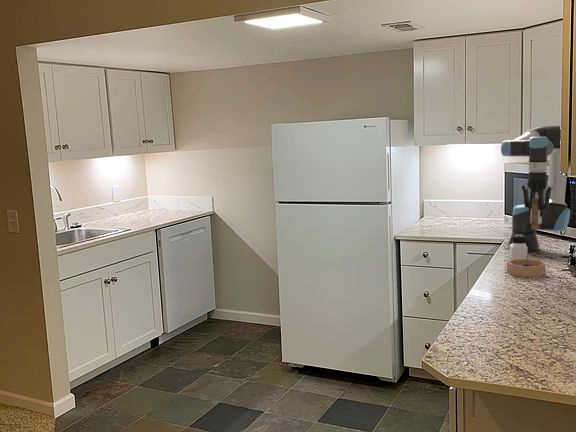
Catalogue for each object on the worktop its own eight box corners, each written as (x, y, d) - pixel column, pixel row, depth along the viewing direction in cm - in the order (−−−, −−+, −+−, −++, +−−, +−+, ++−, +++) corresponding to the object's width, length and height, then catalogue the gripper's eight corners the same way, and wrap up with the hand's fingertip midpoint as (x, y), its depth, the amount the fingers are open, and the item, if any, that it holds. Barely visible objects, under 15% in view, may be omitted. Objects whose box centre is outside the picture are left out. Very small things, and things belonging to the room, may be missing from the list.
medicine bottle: (527, 261, 281) (528, 237, 279) (511, 261, 282) (512, 237, 280) (524, 258, 287) (525, 234, 285) (509, 258, 289) (509, 234, 287)
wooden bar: (534, 227, 271) (535, 197, 269) (540, 228, 269) (541, 197, 267) (531, 229, 268) (532, 198, 266) (536, 229, 266) (537, 198, 264)
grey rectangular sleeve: (523, 267, 267) (523, 263, 266) (535, 269, 263) (535, 265, 262) (516, 271, 262) (516, 266, 261) (528, 272, 258) (528, 268, 258)
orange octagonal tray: (516, 266, 273) (516, 257, 272) (548, 271, 262) (549, 261, 262) (502, 273, 262) (502, 263, 262) (535, 278, 252) (535, 268, 251)
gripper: (516, 171, 267) (515, 222, 271) (552, 172, 256) (550, 226, 260) (523, 170, 272) (522, 220, 276) (558, 171, 262) (556, 223, 265)
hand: (535, 223), depth 268 cm, fingers closed on wooden bar, 2 cm apart
